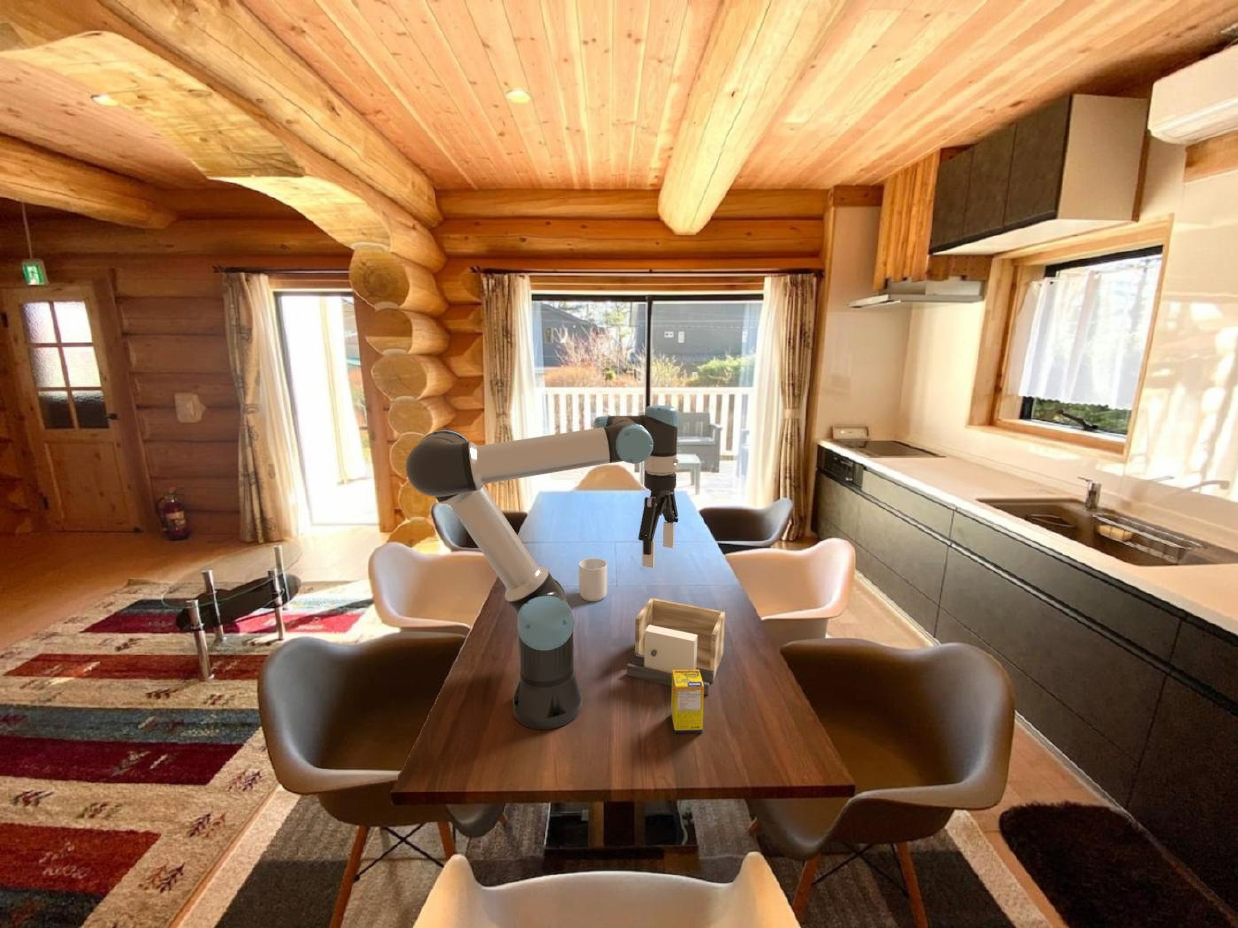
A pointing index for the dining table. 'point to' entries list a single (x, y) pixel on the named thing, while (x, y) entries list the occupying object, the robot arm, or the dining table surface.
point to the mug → (593, 579)
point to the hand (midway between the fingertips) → (658, 556)
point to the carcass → (686, 620)
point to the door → (669, 649)
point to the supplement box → (687, 701)
